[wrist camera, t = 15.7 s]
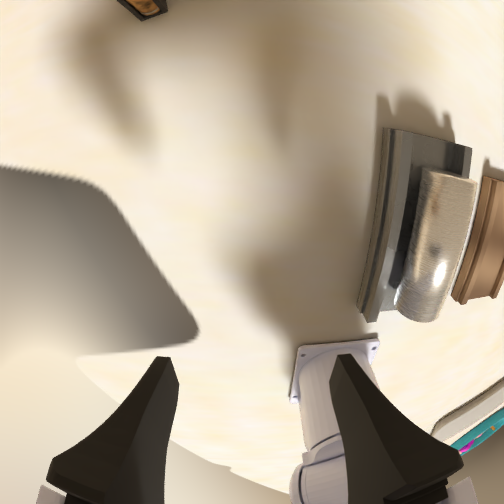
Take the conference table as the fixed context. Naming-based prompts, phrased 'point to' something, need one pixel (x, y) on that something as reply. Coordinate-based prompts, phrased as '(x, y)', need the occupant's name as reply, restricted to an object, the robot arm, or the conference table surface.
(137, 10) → the ammunition clip
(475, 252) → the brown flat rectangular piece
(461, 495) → the robot arm
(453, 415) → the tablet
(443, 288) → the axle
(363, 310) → the cradle
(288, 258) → the conference table surface
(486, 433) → the teal round ring
